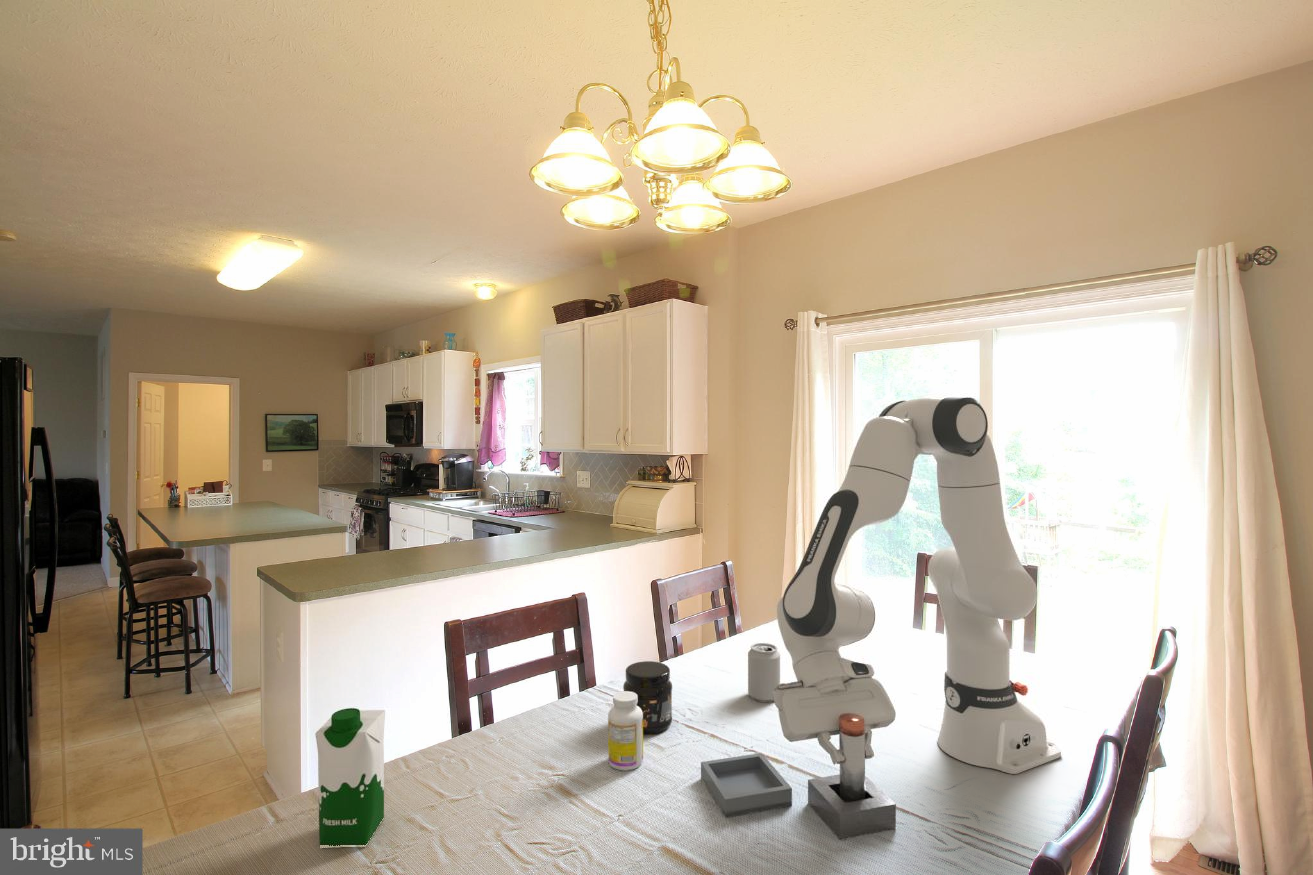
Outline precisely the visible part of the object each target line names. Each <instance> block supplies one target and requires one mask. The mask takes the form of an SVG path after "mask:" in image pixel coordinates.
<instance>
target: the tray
mask: <svg viewBox="0 0 1313 875" xmlns="http://www.w3.org/2000/svg"><path fill="white" fill-rule="evenodd" d="M700 780H701V781H702V782H703V784H704V786H705V787H706V789H707V790H708V792H709V793H710V795H711V797H712V799H713V800H714V802H715V803H716V805H717V807H718V808H719V810H720V811H721V813H722V815H723V816H724V818H731V817H736V816H742V815H747V814H752V813H758V812H765V811H770V810H775V809H780V808H787V807H792V806H793V787H792V786H791V785H790V784H789V783H788V782H787V780H785V778H784V777H783V776H782V775H781V774H780V772H779V771H778V770H777V769H776V768H775V767H774V766H773V764H772V763H771V762H770V761H769V759H768V758H766V756H765V755H764V753H762V752H758V753H753V754H745V755H740V756H739V755H738V756H733V757H732V756H731V757H725V758H718V759H713V760H712V759H711V760H706V761H705V760H704V761H701V762H700Z"/></svg>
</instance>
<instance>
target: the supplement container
mask: <svg viewBox="0 0 1313 875" xmlns="http://www.w3.org/2000/svg"><path fill="white" fill-rule="evenodd" d="M670 678H671V669H670V668H669V666H668V665H667V664H665V663H662V662H660V661H659V662H658V661H650V660H647V661H645V660H644V661H638V662H634V663H632V664H629V665H628V666H627V667H626V668H625V681H624V683H623V686H622V687H623V691H630V692H634V693H636V694H637V696H638V702H637V706H638V707H640V709H641V710H642V712H643V735H653V734H658V733H661V732H662V733H663V731H666V730H667V729H668V728H669V727H671V725H672V722H673V716H672V715H673V714H672V713H673V711H672V710H673V709H672V708H673V706H672V705H673V698H672V696H673V694H672V691H673V683H672V681H671V680H670Z"/></svg>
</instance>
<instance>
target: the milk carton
mask: <svg viewBox="0 0 1313 875" xmlns="http://www.w3.org/2000/svg"><path fill="white" fill-rule="evenodd" d="M385 719H386V709H371V710H370V709H367V710H366V709H361V710H360V709H358V708H356V707H348V708H343V709H339V710H337V711H335V712H334V713H332V714H331V716H330V718H328V720H327V721H326V722H325V723H324V724H322V726H321V727H320V728H319V729H318V730H317V731H316V732H315V734H314V735H315V740H316V748H317V759H318V761H317V763H318V764H317V767H318V768H317V770H318V771H317V773H318V774H317V775H318V778H317V780H318V782H317V783H318V787H317V788H318V834H319V839H318V840H319V846H320V845H329V846H330V845H331V846H332V845H333V846H336V845H337V846H338V845H339V846H340V845H366V844H367V843H368V841H369V840H370V838H371V837H372V835H373V833H374V832H375V831H376V829H377V827H378V826H379V824H380V822H381V821H382V819H383V818H384V819H385V767H384V766H385V758H384V757H385V756H384V755H385V748H384V747H385V746H384V735H385ZM382 822H383V821H382ZM380 825H381V824H380ZM379 827H380V826H379ZM377 830H378V829H377ZM376 832H377V831H376ZM376 832H375V833H376ZM373 836H374V835H373ZM372 838H373V837H372ZM372 838H371V839H372ZM370 841H371V840H370ZM368 844H369V843H368Z"/></svg>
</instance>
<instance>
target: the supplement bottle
mask: <svg viewBox="0 0 1313 875" xmlns="http://www.w3.org/2000/svg"><path fill="white" fill-rule="evenodd" d="M637 702H638V696H637V694H636V693H634V692H630V691H624V690H623V691H617V692H616V693H614V694H613V696H612V704H613V707H611V708H610V710H608V714H607V723H608V724H607V725H608V727H607V728H608V731H607V732H608V733H607V734H608V735H607V737H608V741H607V742H608V746H607V747H608V763H609V765H610V766H611V767H612V768H613V769H616V770H619V771H632V770H635V769H637V768H639V767H641V765H642V763H643V762H644V734H643V712H642V710H641V709H640V707H638V706H637Z"/></svg>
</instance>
